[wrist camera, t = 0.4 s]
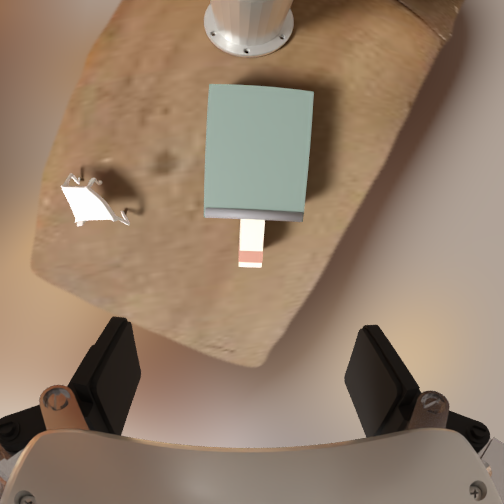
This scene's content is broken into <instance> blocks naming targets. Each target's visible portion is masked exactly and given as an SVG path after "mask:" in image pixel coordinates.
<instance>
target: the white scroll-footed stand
mask: <svg viewBox="0 0 504 504" xmlns="http://www.w3.org/2000/svg"><path fill="white" fill-rule="evenodd" d="M71 178H72V179H73V180H74V181H75V182H76V183H77V184H80V178H78V180H77V179H76V177H75V176H74V175H73V174H72V173H70V174H69V176H68V177H67V179H66V180H65V182H64V184H63V185H61V187H62V190H63V192H64V194H65V196H66V198H67V200H68V202H69V204H70V206H71V209H72V211H73V213H74V215H75V218H76V220H75V222H77V221H78V222H77V226H82V225H83V224H84V223H85V222H86V221H87V220H106V219H110V220H112V221H117V220H119V221H121V222H123V223H124V224H126V225H130V222H129V220H128V218H127V216H126V215H125V213H124V211H121V213H122V216H123V218H124V219H122V218H120V217H118V216H116V215H115V213H114V212H113V210H112V209H111V208H110V206H109V205H108V203H107V202H106V201H105V200H104V199H103V198H102V197H101V196H100V195H98V194H97V193H96V192H95V191H94V190H92V189H91V188H90V187H91V186H92V185H93V183H94V182H95V183H97V184H98V185H101V184H102V181H100V180H99V182H98V181H97V180H96V178H91V180H90V181H89V183H88V185H87V186H68V185H69V182H70V179H71Z"/></svg>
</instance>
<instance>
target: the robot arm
mask: <svg viewBox="0 0 504 504" xmlns="http://www.w3.org/2000/svg"><path fill="white" fill-rule="evenodd" d="M210 2H211V3H210V5H209V6H208V8H207V10H206V12H205V16H204V27H205V30H206V33H207V36H208V37H209V39H210V40H211V42H212V43H213V44H214V45H215V46H216V47H217V48H219V49H221V50H222V51H224V52H226V53H228V54H231V55H234V56H238V57H247V58H250V57H260V56H264V55H267V54H270V53H272V52H274V51H276V50H278V49H279V48H281V47H282V46H283V45H284V44H285V43H286V41H287V40H288V39H289V37H290V35H291V33H292V30H293V27H294V18H293V13H292V11H291V9H290V7H291V5H292V2H293V0H210ZM213 34H215V36H212V35H213ZM280 38H283V40H282V39H280ZM245 51H248V53H247V54H246V53H245ZM140 377H141V369H140V366H139V360H138V356H137V351H136V346H135V341H134V335H133V330H132V325H131V322H128V321H127V319H126V318H122V317H112V318H111V319H110V321H109V323H108V324H107V326H106V327H105V329H104V331H103V332H102V334H101V335H100V337H99V338H98V340H97V342H96V343H95V345H92V346H91V348H90V349H89V351H88V352H87V354H86V356H85V357H84V359H83V360H82V362H81V364H80V365H79V367H78V369H77V371H76V372H75V374H74V376H73V377H72V379H71V381H70V383H69V384H68V386H64V385H53V386H50V387H48V388H47V389H45V390H44V391H43V392H42V394H41V395H40V398H39V403H40V405H37V406H35V407H31V408H29V409H26V410H23V411H20V412H17V413H14V414H11V415H8V416H5V417H3V418H1V419H0V504H504V444H503V443H502V442H501V441H499V440H498V439H496V438H495V437H493V439H490V433H489V430H488V428H487V427H486V426H485V425H484V424H483V423H481V422H479V421H476V420H473V419H470V418H467V417H465V416H462V415H460V414H457V413H454V412H451V411H449V402H448V400H447V399H446V397H445V396H443V395H442V394H440V393H438V392H436V391H425V392H423V393H421V392H420V390H419V388H420V387H419V386H418V384H417V383H416V381H415V380H414V378H413V376H412V375H411V373H410V372H409V370H408V369H407V367H406V366H405V364H404V363H403V362H402V360H401V358H400V357H399V356H398V354H397V352H396V351H395V349H394V348H393V346H392V345H391V343H390V342H389V340H388V339H387V338H386V336H385V335H384V333H383V332H382V330H381V329H380V327H379V326H378V325H365V326H364V327H363V328H362V329H360V330H359V332H358V336H357V339H356V342H355V346H354V349H353V352H352V355H351V358H350V361H349V364H348V367H347V371H346V373H345V384H346V386H347V389H348V392H349V394H350V397H351V399H352V402H353V404H354V407H355V409H356V412H357V414H358V417H359V419H360V422H361V424H362V427H363V430H364V432H365V435H366V438H362V439H355V440H350V441H343V442H335V443H328V444H318V445H309V446H295V447H277V448H221V447H204V446H203V447H202V446H191V445H181V444H171V443H164V442H156V441H149V440H142V439H136V438H131V437H125V436H121V433H122V430H123V427H124V424H125V421H126V418H127V415H128V412H129V409H130V406H131V403H132V400H133V398H134V395H135V392H136V389H137V386H138V383H139V380H140Z"/></svg>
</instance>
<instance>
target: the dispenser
mask: <svg viewBox="0 0 504 504" xmlns="http://www.w3.org/2000/svg"><path fill="white" fill-rule="evenodd" d="M313 96H314V92H312V91H305V90H297V89H288V88H278V87H267V86H253V85H231V84H209V96H208V112H207V130H206V153H205V183H204V217H205V218H231V219H255V220H275V221H293V222H303V215H304V206H305V196H306V186H307V176H308V165H309V153H310V141H311V127H312V113H313Z"/></svg>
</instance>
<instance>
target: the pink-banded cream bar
mask: <svg viewBox="0 0 504 504" xmlns="http://www.w3.org/2000/svg"><path fill="white" fill-rule="evenodd" d="M264 226H265V220H255V219H240V238H239V267H259V268H261V266H262V258H263V240H264Z"/></svg>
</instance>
